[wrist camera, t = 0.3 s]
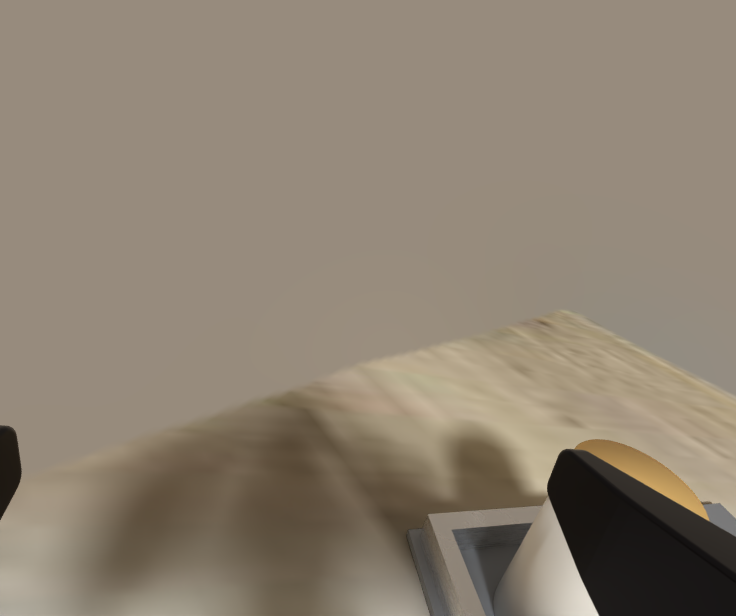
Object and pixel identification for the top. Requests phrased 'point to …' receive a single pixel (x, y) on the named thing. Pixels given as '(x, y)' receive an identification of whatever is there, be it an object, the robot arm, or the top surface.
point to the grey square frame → (468, 532)
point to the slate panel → (505, 563)
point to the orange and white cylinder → (550, 550)
